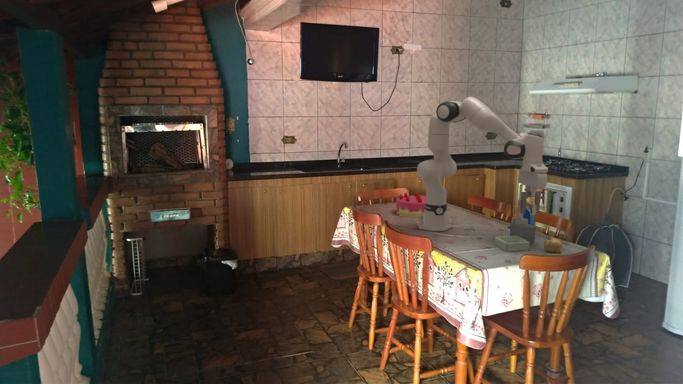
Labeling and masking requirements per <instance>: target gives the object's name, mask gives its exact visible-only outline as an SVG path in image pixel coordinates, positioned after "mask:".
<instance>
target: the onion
mask: <svg viewBox="0 0 683 384" xmlns="http://www.w3.org/2000/svg"><path fill="white" fill-rule="evenodd" d="M543 247H544V250H545V251H547V252H551V253H559V252H561V251H562V249H563V244H562V241H561V240H559V239H558V238H555V237H554V236H548V237H547V239H546V240H544V244H543Z"/></svg>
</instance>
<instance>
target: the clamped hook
mask: <svg viewBox="0 0 683 384" xmlns="http://www.w3.org/2000/svg"><path fill="white" fill-rule="evenodd" d="M520 206H521V199H517V211H516V212H517V214H516V217H517V219H523V214H521V213H520ZM536 206H537V205H536V204H534V202H530V201H527V200H526V207H528V208H530V215H535V216H536V215H537V213H536Z"/></svg>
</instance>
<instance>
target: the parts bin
mask: <svg viewBox="0 0 683 384" xmlns="http://www.w3.org/2000/svg"><path fill="white" fill-rule="evenodd" d="M493 246H495V247H497V248H499V249H501V250H502V251H504V252H506V253H507V252H508V253H510V252H512V253H513V252H524V251H526V252H527V251H530V250H531V245H530V242H528V241H526V240H524V239H522V238H521V237H519V236H510V235H502V236H493Z"/></svg>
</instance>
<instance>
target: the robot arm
mask: <svg viewBox="0 0 683 384" xmlns="http://www.w3.org/2000/svg"><path fill="white" fill-rule="evenodd" d="M435 112H436V113H434V114H432V116H431V117H430V120H429V125H428V132H427V133H428V137H427V148H428V150H429V151H430V152H431V153H432V155H433V159H427V160H423V161H422V162H419V163H418V165H417V168H416V173H417V176H418V177H419V178H420V179H421V180H422V182H423V184H424V186H425V194H426V195H425V196H426V204H425V210H424V211H423V213H422V214H421V216H419V218H418V220H419V221H416V224H417V225H416V226H417V227H418V230H425V231H432V232H442V231H443V232H444V231H447V230H449V229H452V228H453V225H451V224H450V213H449V212H448V211H447V210H448V204H447V194H448V193H447V189H446V188H445V187H444V186H443V185H442V181H441V179H447V178H450V177H452V176H455V174H456V173H457V168H458V167H457V163H456V161H455V160H454V159H453V157H452V156H451V153H450V146H449V145H450V140H449V139H450V127H451V124H452V123H458V122H463V121H464V120H466V119H467V120H468V121H469V122H470V123H471V124H472V125H473V126H474V127H476V128H477V129H479V130H480V131H482V132H489V133H493V134H496V135H498V136H499V137H501V139H503V140H504V141H505V142H506V143H505V144H504V146H503V153H504V155H505V157H507V158H508V159H511V160H519V159H523V160H522V166H521V167H520V169H519V171H518V178H517V182H518V184H521V185H525V192H529V191H531V192H530V195H531V196H535V192H536V191H537V190H545V189H546V187H547V184H548V175H547V173H549V168H548V167H547V166H546V165H545V164H544V162H543V154H544V147H545V146H544V145H545V144H544V138H543V136H542V135H541V134H539V133H536V132H527V133H526V132H525V134H524V135H520V134H519V133H517V132H516V131H515V130H514V129H512V128H511V127H510V126H509V125H508V124H506V123H505V122H504V121H503V120H502V119H501V118H499V117H498V116H497V115H496V113H494V112H493V111H492V110H491V109H490V108H489V107H488V105H486V104H485V103H483V102H482V101H481V100H479V99H478V98H476V97H474V96H468V97H465V99H463V100H450V101H444V102H441V103H440V104H438V106H437V108H436V111H435Z"/></svg>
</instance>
